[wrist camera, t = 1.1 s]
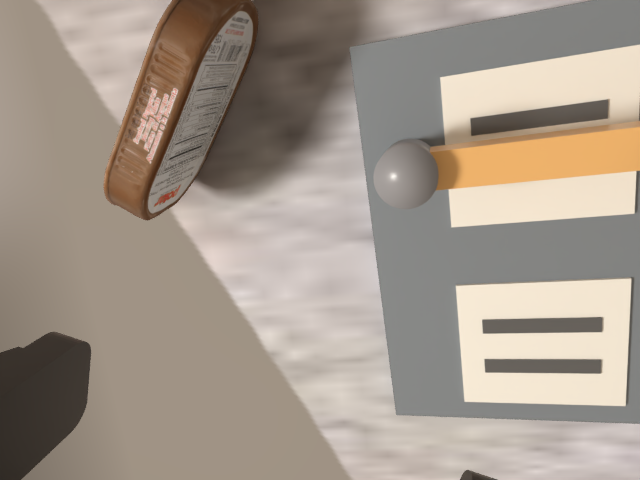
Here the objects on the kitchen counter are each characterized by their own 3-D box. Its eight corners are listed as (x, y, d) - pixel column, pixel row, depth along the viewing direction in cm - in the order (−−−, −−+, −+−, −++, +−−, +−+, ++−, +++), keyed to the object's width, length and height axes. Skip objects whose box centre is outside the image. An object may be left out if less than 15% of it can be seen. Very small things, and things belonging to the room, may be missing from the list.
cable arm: (805, 86, 20) (861, 88, 18) (794, 158, 21) (847, 170, 19) (377, 142, 26) (369, 150, 23) (384, 198, 27) (377, 211, 24)
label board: (750, -28, 23) (803, -46, 19) (704, 413, 30) (736, 454, 27) (352, 48, 28) (341, 44, 25) (397, 404, 36) (393, 437, 33)
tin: (240, -16, 29) (166, -49, 21) (282, 11, 29) (224, -14, 21) (159, 185, 35) (78, 215, 27) (194, 207, 35) (122, 244, 27)
